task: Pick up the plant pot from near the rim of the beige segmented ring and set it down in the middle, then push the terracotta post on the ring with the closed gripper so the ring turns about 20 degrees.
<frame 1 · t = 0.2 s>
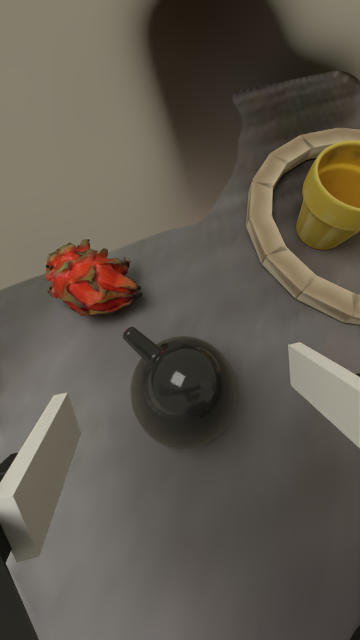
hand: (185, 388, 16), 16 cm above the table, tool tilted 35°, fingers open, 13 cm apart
dragon fruit: (102, 294, 36), on the table
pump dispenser: (182, 395, 31), on the table
plant pot: (318, 232, 39), resting in beige segmented ring
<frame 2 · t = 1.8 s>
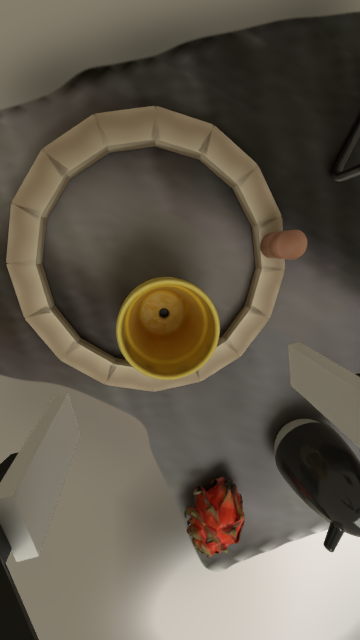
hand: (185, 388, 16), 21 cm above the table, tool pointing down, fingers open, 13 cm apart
beige segmented ring: (155, 267, 30), point 4 cm above the table, hinge at 0.0°
dragon fruit: (209, 491, 44), on the table
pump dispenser: (293, 435, 44), on the table
plant pot: (162, 310, 36), resting in beige segmented ring
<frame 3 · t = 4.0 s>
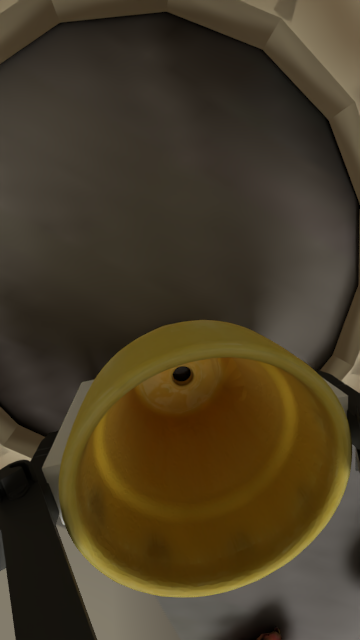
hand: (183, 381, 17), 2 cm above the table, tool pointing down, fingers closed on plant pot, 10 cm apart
beige segmented ring: (168, 290, 13), point 4 cm above the table, hinge at 0.0°
plant pot: (178, 367, 19), resting in beige segmented ring, touching gripper
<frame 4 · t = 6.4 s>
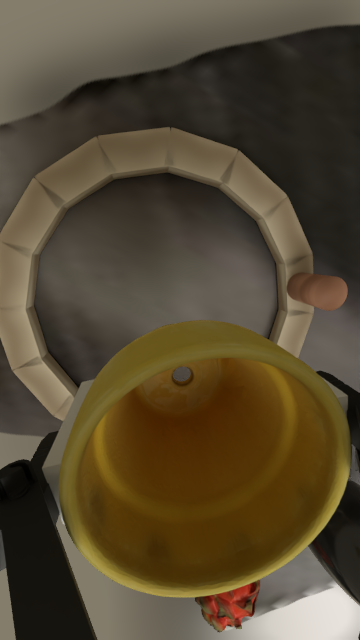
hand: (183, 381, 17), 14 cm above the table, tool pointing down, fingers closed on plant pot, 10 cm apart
beige segmented ring: (166, 314, 26), point 4 cm above the table, hinge at 0.0°
dragon fruit: (219, 548, 40), on the table
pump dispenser: (313, 487, 39), on the table
plant pot: (178, 367, 19), point 12 cm above the table, touching gripper
when the fingers open (3 cm above the table, at t = 9.1 s): plant pot drops 1 cm, resting in beige segmented ring.
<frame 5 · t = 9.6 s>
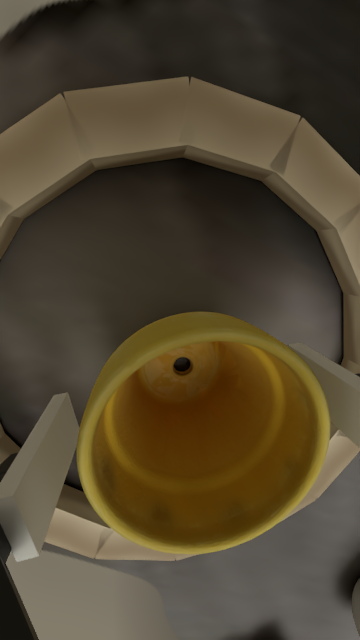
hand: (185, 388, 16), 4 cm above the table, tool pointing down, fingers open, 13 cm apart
beige segmented ring: (184, 384, 16), point 4 cm above the table, hinge at 0.0°
plant pot: (179, 358, 20), resting in beige segmented ring
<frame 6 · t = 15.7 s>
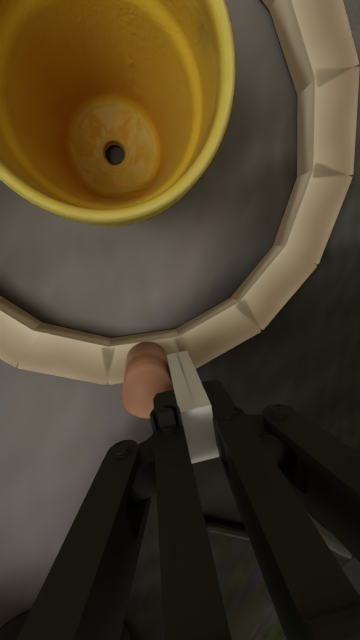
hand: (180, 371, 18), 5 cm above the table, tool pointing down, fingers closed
beige segmented ring: (110, 129, 15), point 4 cm above the table, hinge at -4.1°, touching gripper
chair: (280, 487, 29), on the table
plant pot: (117, 157, 19), resting in beige segmented ring
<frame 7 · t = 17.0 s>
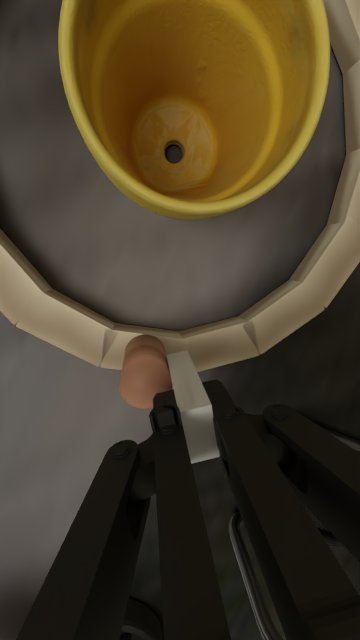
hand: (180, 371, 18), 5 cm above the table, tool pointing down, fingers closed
beige segmented ring: (181, 128, 16), point 4 cm above the table, hinge at -19.8°, touching gripper
chair: (313, 481, 29), on the table
plant pot: (173, 156, 19), resting in beige segmented ring
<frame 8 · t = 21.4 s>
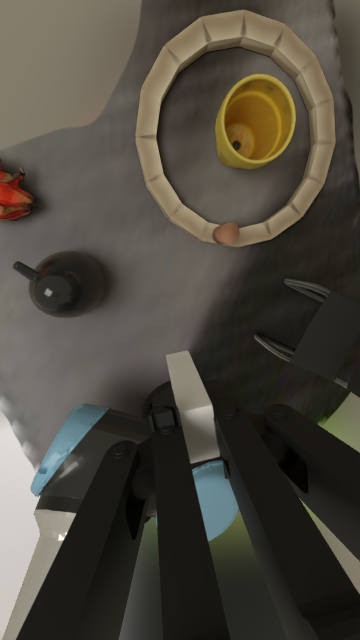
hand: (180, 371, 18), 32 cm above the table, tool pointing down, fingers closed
beige segmented ring: (243, 136, 41), point 4 cm above the table, hinge at -19.9°
dragon fruit: (6, 194, 42), on the table
chair: (298, 322, 55), on the table
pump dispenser: (77, 280, 47), on the table
plant pot: (234, 147, 45), resting in beige segmented ring
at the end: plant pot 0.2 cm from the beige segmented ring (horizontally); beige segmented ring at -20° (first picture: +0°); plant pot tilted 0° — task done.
